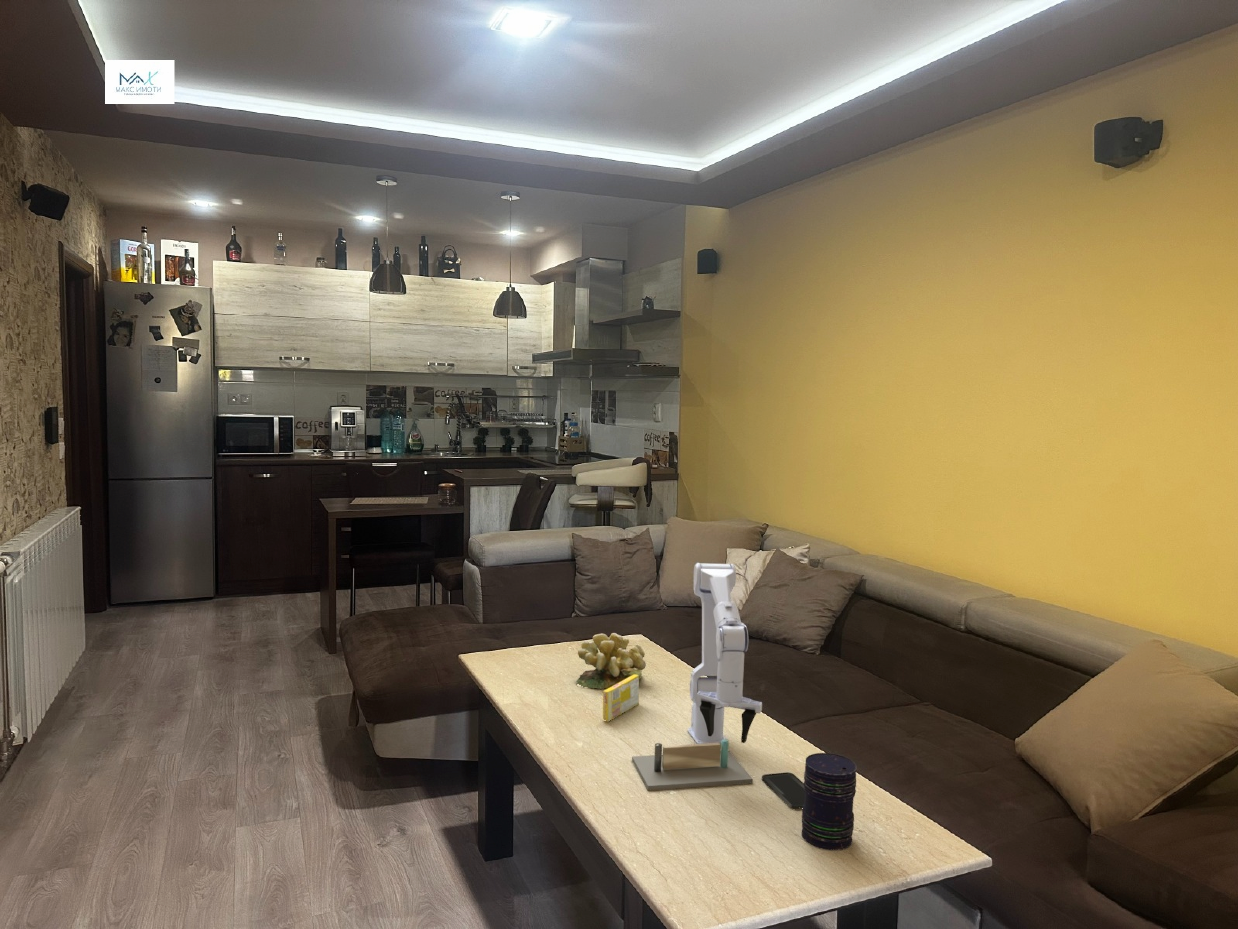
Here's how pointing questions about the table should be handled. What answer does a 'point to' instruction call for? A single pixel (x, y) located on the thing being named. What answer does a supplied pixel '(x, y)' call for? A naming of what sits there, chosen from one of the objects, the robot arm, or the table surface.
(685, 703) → the table surface
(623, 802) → the table surface
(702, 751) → the gate
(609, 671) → the coral
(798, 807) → the phone
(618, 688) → the candy box
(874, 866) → the table surface
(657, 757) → the hinge post
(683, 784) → the gate board
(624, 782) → the table surface
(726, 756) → the latch post
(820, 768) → the storage jar
